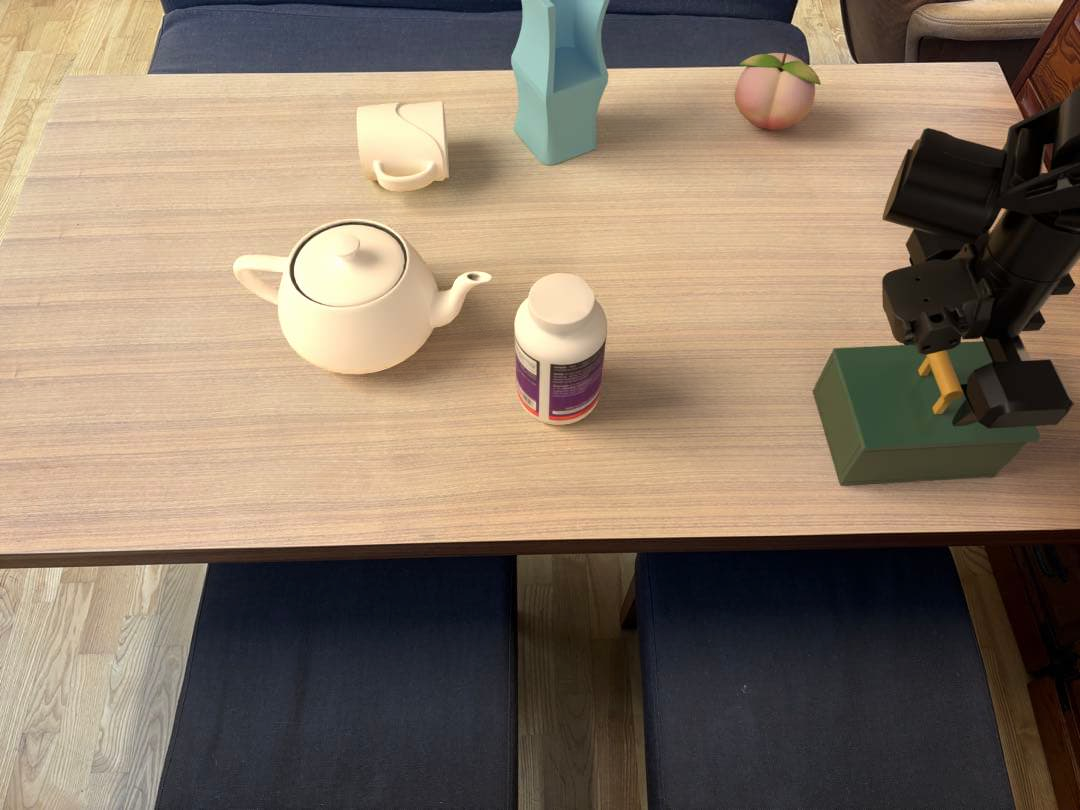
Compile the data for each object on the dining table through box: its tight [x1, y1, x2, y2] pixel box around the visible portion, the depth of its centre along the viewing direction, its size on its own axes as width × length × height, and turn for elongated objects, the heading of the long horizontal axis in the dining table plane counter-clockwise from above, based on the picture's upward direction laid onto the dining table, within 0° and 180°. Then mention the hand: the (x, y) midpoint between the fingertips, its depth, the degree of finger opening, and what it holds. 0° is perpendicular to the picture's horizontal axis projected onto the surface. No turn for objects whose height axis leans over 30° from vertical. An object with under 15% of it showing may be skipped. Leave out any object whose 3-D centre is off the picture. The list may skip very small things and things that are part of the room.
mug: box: [356, 100, 450, 193], centre depth 95 cm, size 12×9×8 cm
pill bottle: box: [513, 272, 608, 426], centre depth 76 cm, size 8×8×14 cm
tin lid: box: [831, 340, 1042, 451], centre depth 73 cm, size 15×10×4 cm
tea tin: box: [812, 352, 1028, 486], centre depth 77 cm, size 14×10×6 cm
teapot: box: [232, 218, 493, 375], centre depth 81 cm, size 25×16×12 cm, turn 82°
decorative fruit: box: [734, 52, 822, 131], centre depth 100 cm, size 9×8×10 cm
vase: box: [510, 0, 611, 166], centre depth 94 cm, size 8×8×20 cm
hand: (940, 378), depth 72 cm, fingers open, 9 cm apart
